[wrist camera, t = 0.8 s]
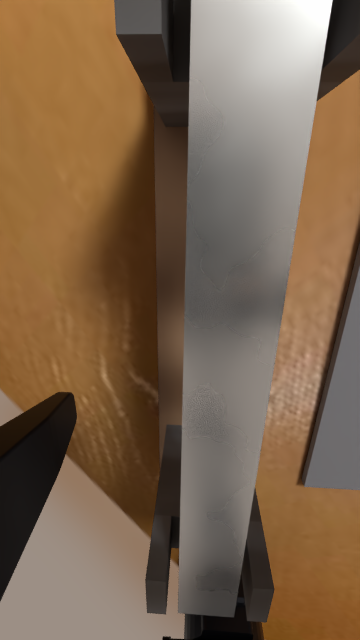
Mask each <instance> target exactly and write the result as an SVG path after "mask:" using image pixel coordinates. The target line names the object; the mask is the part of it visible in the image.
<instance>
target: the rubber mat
mask: <svg viewBox="0 0 360 640" xmlns="http://www.w3.org/2000/svg"><path fill="white" fill-rule="evenodd" d="M302 482H303V485H304V487H318V488H334V489H351V490H360V243H359V247H358V251H357V255H356V259H355V263H354V267H353V271H352V275H351V279H350V284H349V288H348V292H347V296H346V300H345V304H344V308H343V312H342V316H341V320H340V325H339V329H338V333H337V337H336V341H335V345H334V349H333V353H332V357H331V361H330V366H329V370H328V374H327V378H326V382H325V386H324V390H323V394H322V398H321V402H320V407H319V411H318V415H317V419H316V423H315V427H314V431H313V435H312V439H311V443H310V447H309V452H308V456H307V460H306V464H305V468H304V472H303V476H302Z"/></svg>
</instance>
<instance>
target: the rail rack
mask: <svg viewBox="0 0 360 640" xmlns="http://www.w3.org/2000/svg"><path fill="white" fill-rule="evenodd" d="M114 2H115V21H116V35H117V37H118V39H119V40H120V42H121V44H122V46H123V48H124V50H125V52H126V54H127V55H128V57H129V59H130V61H131V63H132V65H133V67H134V69H135V70H136V72H137V74H138V76H139V78H140V80H141V82H142V84H143V85H144V87H145V89H146V91H147V93H148V95H149V97H150V99H151V100H152V102H153V104H154V155H155V214H156V273H157V333H158V392H159V451H160V477H159V484H158V492H157V499H156V506H155V514H154V521H153V528H152V536H151V543H150V550H149V558H148V566H147V573H146V599H147V613H156V614H166V607H167V595H168V580H169V568H170V556H171V548H179V543H180V497H181V451H182V404H183V358H184V312H185V266H186V219H187V173H188V127H189V80H190V34H191V0H114ZM359 69H360V0H333V1H332V7H331V13H330V19H329V26H328V32H327V38H326V44H325V51H324V57H323V63H322V69H321V76H320V82H319V88H318V94H317V101H318V100H319V99H321V98H322V97H323V96H325V95H326V94H327V93H329V92H330V91H331V90H333V89H334V88H335V87H337V86H338V85H339V84H341V83H342V82H343V81H345V80H346V79H347V78H349V77H350V76H351V75H353V74H354V73H355V72H357V71H358V70H359ZM241 571H242V580H243V589H244V598H245V607H246V616H247V621H255V622H267V618H268V614H269V610H270V606H271V602H272V598H273V593H274V585H273V580H272V575H271V569H270V564H269V559H268V553H267V548H266V543H265V537H264V532H263V527H262V522H261V516H260V511H259V506H258V500H257V495H256V490H255V489H254V495H253V501H252V507H251V514H250V520H249V526H248V532H247V539H246V545H245V551H244V557H243V564H242V570H241Z"/></svg>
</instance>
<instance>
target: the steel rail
mask: <svg viewBox="0 0 360 640" xmlns="http://www.w3.org/2000/svg"><path fill="white" fill-rule="evenodd" d="M332 1H333V0H191V34H190V80H189V127H188V173H187V219H186V266H185V312H184V358H183V404H182V451H181V497H180V543H179V592H178V613H184V614H197V615H209V616H221V617H234V614H235V608H236V601H237V595H238V589H239V583H240V576H241V570H242V564H243V557H244V551H245V545H246V539H247V532H248V526H249V520H250V514H251V507H252V501H253V495H254V489H255V482H256V476H257V470H258V464H259V457H260V451H261V445H262V439H263V432H264V426H265V420H266V414H267V407H268V401H269V395H270V389H271V382H272V376H273V370H274V364H275V357H276V351H277V345H278V338H279V332H280V326H281V320H282V313H283V307H284V301H285V295H286V288H287V282H288V276H289V270H290V263H291V257H292V251H293V245H294V238H295V232H296V226H297V220H298V213H299V207H300V201H301V195H302V188H303V182H304V176H305V170H306V163H307V157H308V151H309V145H310V138H311V132H312V126H313V119H314V113H315V107H316V101H317V94H318V88H319V82H320V76H321V69H322V63H323V57H324V51H325V44H326V38H327V32H328V26H329V19H330V13H331V7H332Z"/></svg>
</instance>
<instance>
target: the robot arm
mask: <svg viewBox="0 0 360 640" xmlns="http://www.w3.org/2000/svg"><path fill="white" fill-rule="evenodd" d="M76 420H77V413H76V406H75V400H74V395H73V394H72V393H71V392H58V393H56V394H54V395H52V396H51V397H49V398H47V399H46V400H44V401H42V402H41V403H39V404H37V405H36V406H34V407H32V408H31V409H29V410H27V411H26V412H24V413H22V414H21V415H19V416H18V417H15V418H14V419H12V420H10V421H9V422H7V423H5V424H4V425H2V426H0V601H1V599H2V596H3V594H4V592H5V590H6V588H7V586H8V583H9V581H10V579H11V577H12V574H13V572H14V570H15V568H16V566H17V563H18V561H19V559H20V557H21V555H22V552H23V551H24V548H25V546H26V544H27V542H28V540H29V537H30V535H31V533H32V531H33V529H34V526H35V524H36V522H37V520H38V518H39V515H40V513H41V511H42V509H43V507H44V505H45V502H46V500H47V498H48V496H49V494H50V491H51V489H52V487H53V485H54V482H55V480H56V478H57V476H58V473H59V471H60V468H61V466H62V463H63V460H64V457H65V454H66V451H67V448H68V445H69V442H70V439H71V436H72V433H73V430H74V427H75V424H76ZM163 640H264V637H263V630H262V623H261V622H255V621H247V616H246V607H245V598H244V589H243V580H242V571H241V576H240V583H239V589H238V595H237V601H236V608H235V614H234V617H221V616H209V615H197V614H185V632H184V639H171V637H163Z"/></svg>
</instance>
